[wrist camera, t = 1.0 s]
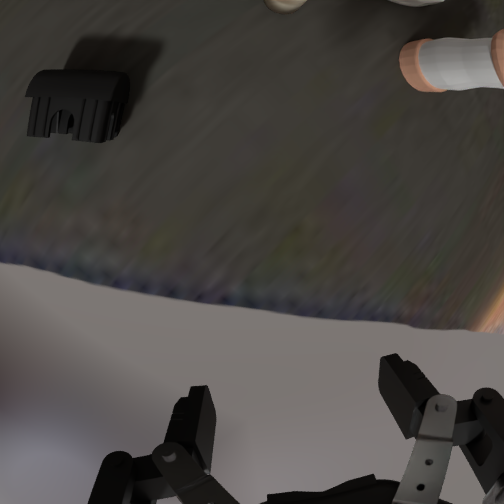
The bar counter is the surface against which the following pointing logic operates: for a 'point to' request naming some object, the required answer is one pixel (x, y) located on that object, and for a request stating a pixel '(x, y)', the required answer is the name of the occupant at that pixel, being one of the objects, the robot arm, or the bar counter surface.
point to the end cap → (77, 104)
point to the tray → (416, 2)
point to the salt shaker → (454, 63)
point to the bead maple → (284, 5)
